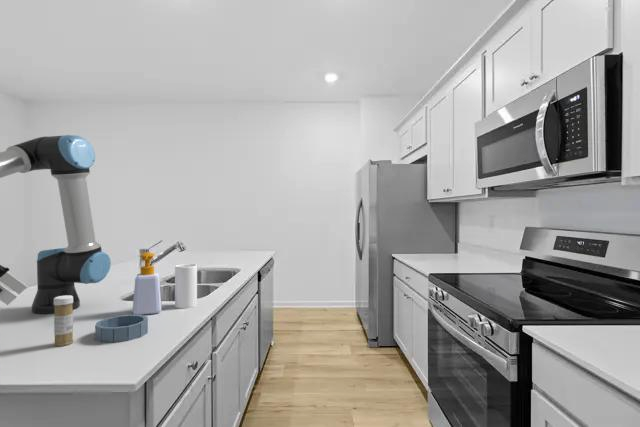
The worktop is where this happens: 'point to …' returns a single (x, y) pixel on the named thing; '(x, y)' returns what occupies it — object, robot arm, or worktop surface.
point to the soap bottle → (147, 289)
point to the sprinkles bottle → (63, 320)
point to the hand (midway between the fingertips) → (18, 295)
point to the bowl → (121, 328)
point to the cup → (185, 286)
